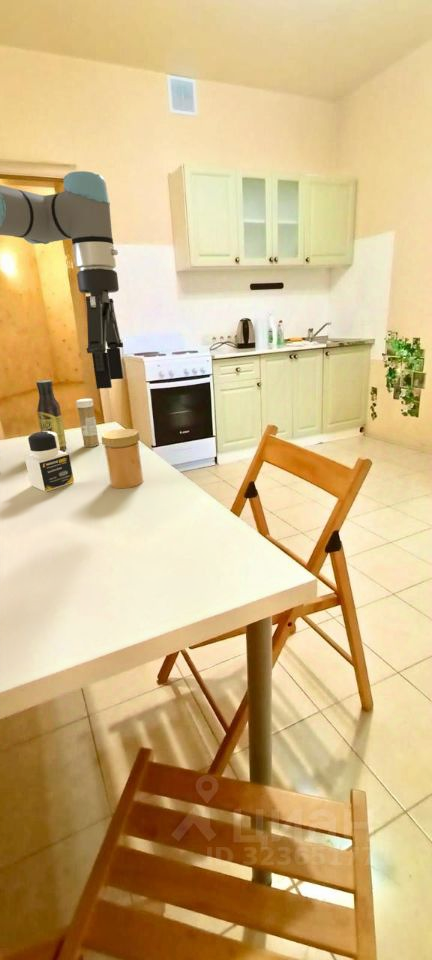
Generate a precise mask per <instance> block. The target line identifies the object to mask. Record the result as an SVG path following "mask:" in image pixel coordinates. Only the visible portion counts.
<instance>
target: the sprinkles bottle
mask: <svg viewBox="0 0 432 960" xmlns="http://www.w3.org/2000/svg"><path fill="white" fill-rule="evenodd" d="M75 403H76V407H77V411H78V417H79V423H80V430H81V436H82V440H83V446H84V447H86V448H92V447H96V445H97V446H98V445H100V441H99V435H98V426H97V419H96V414H95V409H94V401H93V398H80V399H77V400H76V401H75Z"/></svg>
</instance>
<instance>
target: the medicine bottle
mask: <svg viewBox="0 0 432 960" xmlns="http://www.w3.org/2000/svg"><path fill="white" fill-rule="evenodd" d="M27 440H28V444H29V449H30V454H28V455H25V456H24V463H25V465H26V470H27V475H28V478H29V479H28V480H29V482H30V486H31V487H34V488H36V489H38V490H41V491H43V492H45V493H47V492H50V491H53V490H55V489H59V488H62V487H65V486H68V485H70V484H73V483H75V478H74V474H73V469H72V463H71V458H70V454H69V453H68V452H66V451H60V450H59V449H60V447H59V442H58V437H57V434H56V433H55V432H52V431H43V432H41V431H38V432H34V433H32V434H30V435H29V436H28V437H27Z"/></svg>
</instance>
